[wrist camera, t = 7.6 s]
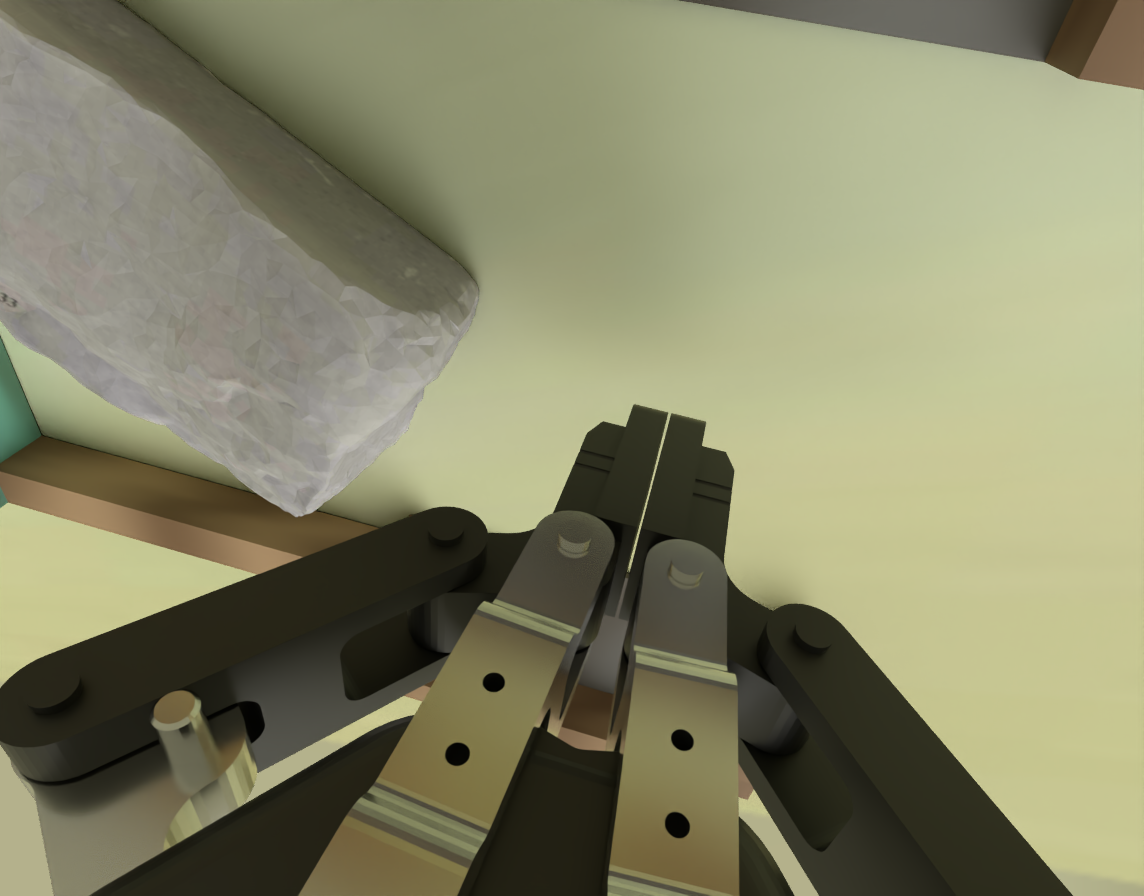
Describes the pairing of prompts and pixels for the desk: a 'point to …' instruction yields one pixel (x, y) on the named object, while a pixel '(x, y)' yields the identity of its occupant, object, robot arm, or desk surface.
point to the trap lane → (275, 537)
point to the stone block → (207, 258)
